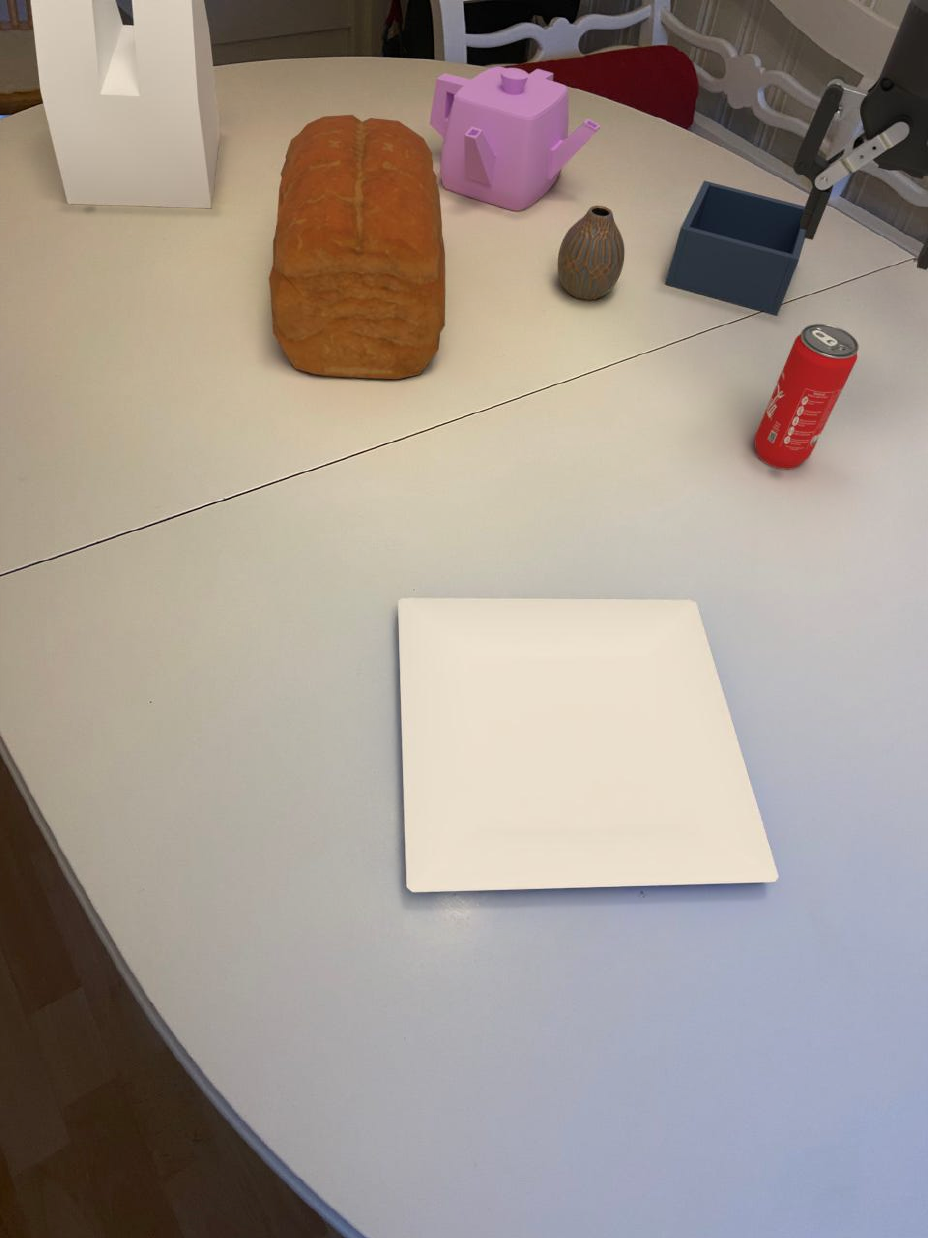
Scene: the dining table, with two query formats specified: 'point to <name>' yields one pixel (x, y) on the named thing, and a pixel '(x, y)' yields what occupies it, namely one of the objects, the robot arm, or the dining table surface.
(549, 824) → the plate
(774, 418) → the beverage can
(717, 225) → the tub
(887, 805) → the dining table surface
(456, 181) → the teakettle
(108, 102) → the white notched block
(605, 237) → the vase
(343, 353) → the bread
